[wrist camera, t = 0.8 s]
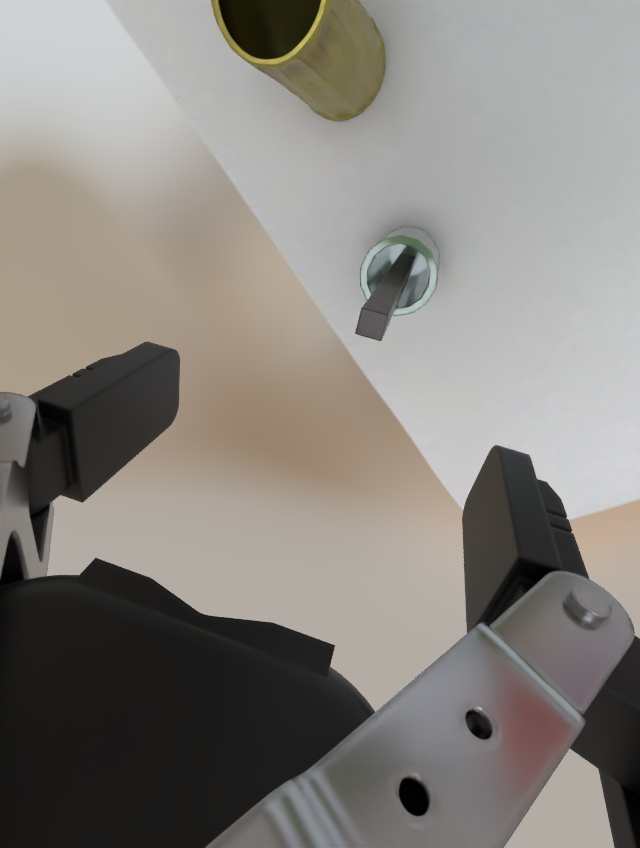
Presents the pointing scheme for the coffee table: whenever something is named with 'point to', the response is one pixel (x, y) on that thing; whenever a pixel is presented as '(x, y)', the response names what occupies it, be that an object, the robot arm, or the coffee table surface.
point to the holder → (422, 271)
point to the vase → (309, 49)
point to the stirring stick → (385, 299)
